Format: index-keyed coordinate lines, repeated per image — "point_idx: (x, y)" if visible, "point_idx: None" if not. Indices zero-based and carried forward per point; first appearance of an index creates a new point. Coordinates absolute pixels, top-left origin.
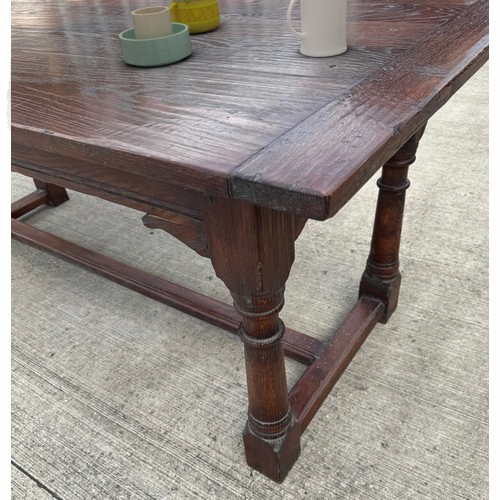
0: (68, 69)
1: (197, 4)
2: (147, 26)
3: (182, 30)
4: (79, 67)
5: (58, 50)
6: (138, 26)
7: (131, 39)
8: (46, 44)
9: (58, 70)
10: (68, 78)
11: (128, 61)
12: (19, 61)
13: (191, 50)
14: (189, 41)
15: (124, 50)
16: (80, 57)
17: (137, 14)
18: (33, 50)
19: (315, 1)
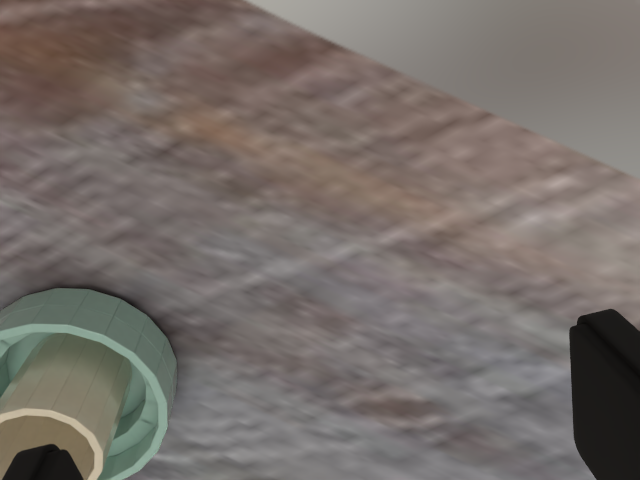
0: (216, 170)
1: None
2: (2, 399)
3: None
4: (205, 200)
5: (459, 249)
6: (29, 386)
7: (14, 334)
8: (570, 259)
9: (235, 147)
10: (118, 126)
11: (63, 290)
12: (469, 117)
13: None
14: None
15: (66, 306)
16: (310, 251)
17: (12, 412)
18: (548, 203)
19: None
